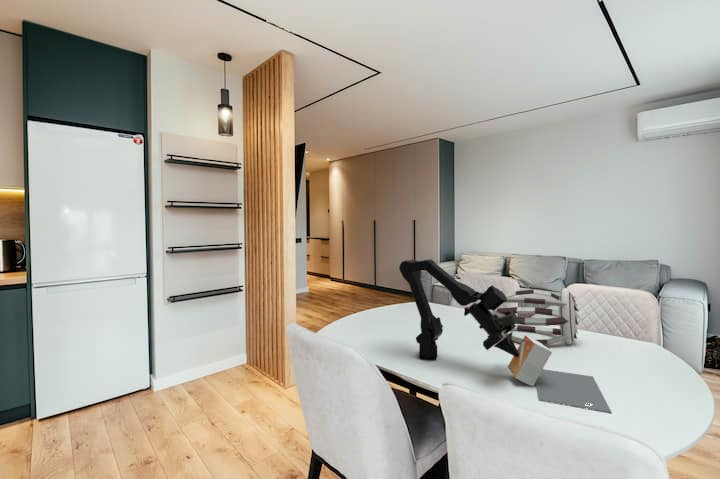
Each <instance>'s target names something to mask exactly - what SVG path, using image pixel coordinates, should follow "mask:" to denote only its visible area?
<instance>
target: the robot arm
mask: <svg viewBox="0 0 720 479" xmlns="http://www.w3.org/2000/svg"><path fill="white" fill-rule="evenodd" d="M399 264H400V265H399V266H398V267H399V268H398V269H399V272H400V274H401V276H402V277H403V279H404V280H405V281H406V282H407V283H408V285H409V288H410V290H411V293H412V296H413V300H414V302H415V305H416V308H417V311H418V313H419V314H418V315H419V317H420V331H421V332H420V333H419V334H418V335H417V336H416V337H415V340H416V341H415V342H416V343H417V344H418V345H419V346H418V347H419V349H418V350H419V352H418V358H419V360H426V361H427V360H430V361H436V360H437V358H438V344H437V342H436V341H437V340H439V337H441V336H442V334H443V331H444V330H443V328H444V326H443V324H442V321H441V318H440V317H436V316H435V315H434V313H433V311H432V309H431V305H430V302H429V300H428V298H427V295H426V292H425V289H424V286H423V283H422V281H421V279H422V278H421V276H422V271H425V272H426V273H428V274H429V275H431V276H432V277H433V278H434V279H435V280H436V281H437V282H439V283H440V285H442V286H443V287H445V289H447V290H448V291H449V293H450V294H451V297H452V298H453V299H454V301H455V302H456V303H457V304H458V305H460V306H463V307H464V306H466V307H464V308H463V310H464V313H463V316H464V317H467V316H468V315H471V316H472V317H473V319H474V320H475V321H476V322H477V323H478V324H479V326H478V328H479V329H481V330H482V329H483V330H484V331H485V332H486V333H487V338H486V339H485V340H483V342H482V345H483V347H484V349H486V351H489V350H490V349H491V348H492V347H494V348H497V349H500V350H501V351H504V352H506V353H508V354H510V355H512V357H513V356H515V357H518V356H519V355H520V354H519V352H518V351H517V349H518V348H517V347H516V345H515V343H514V341H513V340H512V336H513V333H514V332H513V330H512V329H514V328H515V327H516V326H515V325H517V324H516V322H518V321H517V318H516V317H518V315H517V313H516V314H515V313H513V312H512V311H510V310H509V311H506V312H505V315H503V316H501V317H498V316H497V315H493V314H492V313H493V312H491V311H490V310H492V311H496V310H497V309H498V308H500V306H502V304H504V303H506V302H505V301H506V300H507V298H506V296H505V294H506V293H504V292H503V291H501V290H500V289H499V288H497V287H495V286H494V285H490V286H489V287H487V289H486V290H485V291H484V292H479V291H476V290H475V289H474V288H472V287H471V286H469V285H467V284H466V283H463V282H460V281H458V280H457V279H455V278H454V277H453V276H452V275H450V274H449V273H448V272H447V271H446V270H444V269H443V268H442V267H440V265H438V263H436V262H435V260H434V259H431V258H429V259H424V260H416V259H408V260H403V261H402V262H400V263H399ZM470 304H471V305H470ZM468 305H470V306H468ZM509 332H510V333H509Z"/></svg>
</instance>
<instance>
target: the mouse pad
mask: <svg viewBox="0 0 720 479" xmlns="http://www.w3.org/2000/svg"><path fill="white" fill-rule="evenodd" d="M535 384H536V385H535V386H536V392H537V399H539V400H541V402H545V401H547V403H550V402H554V403H553V404H556V403H560V404H559V405H562V404H565V405H564V406H567V405H571V406H570V407H573V406H575V407H574V408H578V407H582V408H581V409H584V408H588V409H587V410H590V409H594V410H593V411H595V410H598V411H597V412H601V411H603V412H602V413H607V412H610V413H609V414H612V411H611V409H610V407H609V405H608V403H607V401H606V399H605V397H604V395H603V393H602V391H601V389H600V387H599V385H598V383H597V382H596V380H595V377H594V376H593V375H592V376H591V375H584V374H579V373H578V374H577V373H572V372H563V371H557V370H550V369H544V368H543V369H542V371H541V373H540V375H539V376H538V378H537V380H536V382H535ZM539 400H538V401H539ZM586 403H587V404H586ZM588 403H589V404H588ZM590 403H591V404H593V405H592V406H590ZM585 404H586V405H589V406H590V407H589V406H585Z"/></svg>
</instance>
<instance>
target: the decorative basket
mask: <svg viewBox="0 0 720 479" xmlns="http://www.w3.org/2000/svg"><path fill="white" fill-rule="evenodd" d="M504 294H505V296H506V298H507V300H506V301H505V302H504V303H513V304H514V303H517V304H519V303H520V304H532V305H533V304H534V305H545V306H555V307H558V310H556V309H554V308H545V307H544V308H543V307H537V306H532V307H531V306H526V307H525V306H514V307H502V308H501V307H498V308H497V309H496V310H493V312H491V313H492V314H493V315H497V316H498V317H501V316H503V315H505V312H506V311H509V310H510V311H512V312H513V313H515V314H516V315H517V314H529V315H532V314H534V315H535V314H536V315H543V316H549V317H548V318H546V317H545V318H544V317H543V318H542V317H539V318H538V317H523V316H522V317H521V316H517V317H516V318H517V321H518V322H516V324H515V326H516V327H515V328H514V329H512V330H511V331H512V332H513V331H516V332H524V333H535V334H545V335H555V337H551V338H548V339H545V338H543V339H535V340H536V341H538V342H540V343H542V344H543V345H544V346H545V345H546V346H547V345H548V346H549V345H552V344H555V343H560V342H563V341H564V343H566V344H567V345H571V344H572V343H573V345H574V344H575V345H576V341H575V339H576V340H577V339H578V337H577V334H579V332H578V327H577V325H578V326H579V323H578V319H579V318H580V316H579V314H578V313H577V312H580V310H579V309H578V304H577V302H576V300H575V299H576V297H575V296H574V295H573V293H571V291H570V290H569V289H568V288H567V287H565V288H563V289H561V292H560V294H559V295H557V294H556V293H553V292H550V291H544V290H539V289H526V290H525V289H524V290H515V291H511V292H509V293H504ZM531 294H534V295H540V296H545V297H550V298H553V299H545V298H535V297H534V298H533V297H532V298H531V297H515V296H523V295H531ZM554 299H555V300H554ZM558 325H559V328H552V327H549V326H558ZM545 326H546V327H545ZM512 340H513V342H516V343H519V344H521V342H522V340H523V338H521V337H517V336H513V335H512Z"/></svg>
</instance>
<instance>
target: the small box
mask: <svg viewBox="0 0 720 479" xmlns="http://www.w3.org/2000/svg"><path fill="white" fill-rule="evenodd" d="M522 339H523V340H522V342H521V343H519V346H517V347H518V348H516V349H517V351H518V352H519V354H520V355H519V356H518V357H515V356H513V355H512V358H511V360H510V362H509V364H508V365H507V369H508V370H509V371H510V372H511V373H512V375H513V376H514V378H515V379H517V380H519V381H520V382H522V383H524V384H526V385H528V386H531V387H534V385H535V384H536V380H537V378H538V376H539V375H540V373H541V371H542V369H544V367H545V366H546V364H547V362H548V360H549V358H550V356H551V355H552V352H553V351H551V350H550V349H549V348H548V347H547V346H545V345H543V344H542V343H540V342H538V341H536V340H537V339H534V338H532V337H530V336H528V335H524V337H523V338H522Z"/></svg>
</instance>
